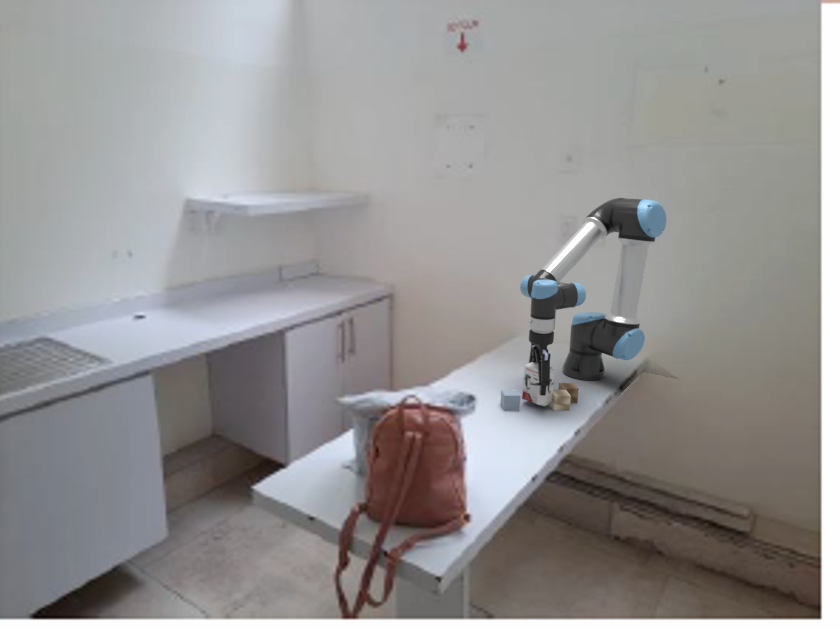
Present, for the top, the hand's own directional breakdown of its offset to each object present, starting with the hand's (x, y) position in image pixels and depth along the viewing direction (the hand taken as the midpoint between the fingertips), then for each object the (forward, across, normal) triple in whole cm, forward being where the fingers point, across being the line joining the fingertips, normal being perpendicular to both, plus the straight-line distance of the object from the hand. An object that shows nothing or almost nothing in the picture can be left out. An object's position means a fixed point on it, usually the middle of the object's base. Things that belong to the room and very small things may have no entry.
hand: (537, 397), depth 184 cm
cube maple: (+3, +1, +7) cm, 8 cm away
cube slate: (+3, +1, -9) cm, 9 cm away
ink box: (+1, 0, 0) cm, 1 cm away
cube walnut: (+3, -5, +12) cm, 13 cm away
